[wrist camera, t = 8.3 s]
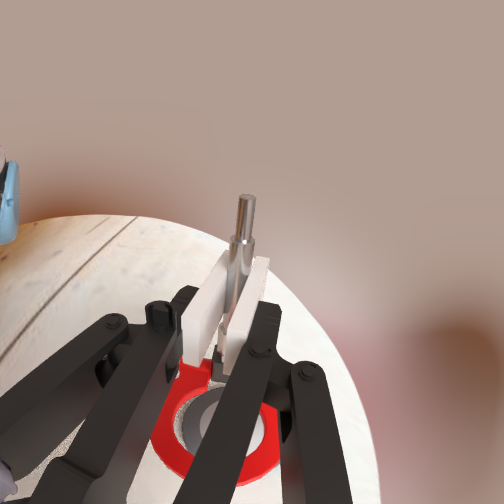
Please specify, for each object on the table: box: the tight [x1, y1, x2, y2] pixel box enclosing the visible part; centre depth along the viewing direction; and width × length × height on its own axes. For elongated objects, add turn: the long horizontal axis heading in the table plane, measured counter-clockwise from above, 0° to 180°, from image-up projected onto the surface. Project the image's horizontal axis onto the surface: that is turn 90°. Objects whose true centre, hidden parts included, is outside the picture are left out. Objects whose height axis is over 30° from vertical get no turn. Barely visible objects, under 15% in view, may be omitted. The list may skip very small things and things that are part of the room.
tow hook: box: [150, 194, 280, 487], centre depth 12 cm, size 8×13×9 cm
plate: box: [182, 387, 280, 468], centre depth 23 cm, size 11×11×1 cm
